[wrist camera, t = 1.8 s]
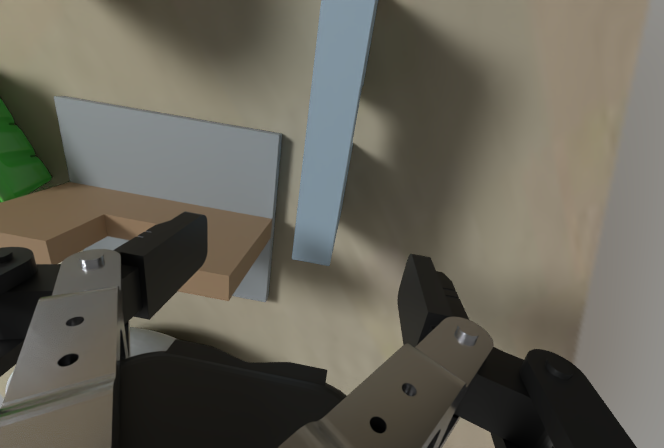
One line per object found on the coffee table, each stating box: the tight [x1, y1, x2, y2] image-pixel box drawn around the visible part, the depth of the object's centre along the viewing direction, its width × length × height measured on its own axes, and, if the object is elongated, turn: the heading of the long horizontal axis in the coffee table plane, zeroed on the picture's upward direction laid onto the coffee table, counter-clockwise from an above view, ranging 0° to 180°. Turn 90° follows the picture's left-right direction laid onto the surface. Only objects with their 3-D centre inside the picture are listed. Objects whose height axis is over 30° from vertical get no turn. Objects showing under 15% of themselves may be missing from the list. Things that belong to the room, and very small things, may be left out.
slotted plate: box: [292, 0, 378, 266], centre depth 17 cm, size 14×2×8 cm, turn 171°
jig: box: [0, 96, 282, 302], centre depth 21 cm, size 14×16×9 cm
